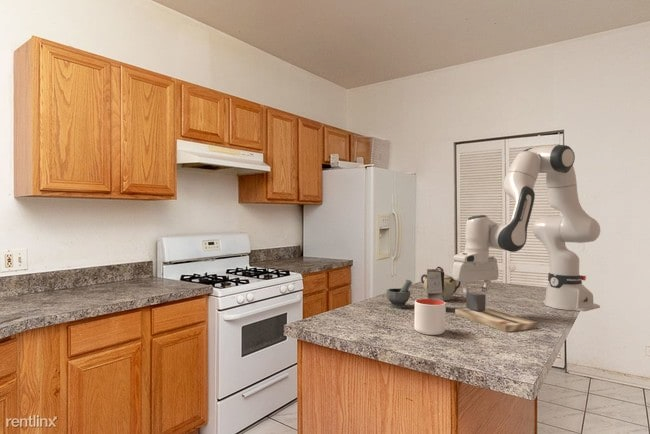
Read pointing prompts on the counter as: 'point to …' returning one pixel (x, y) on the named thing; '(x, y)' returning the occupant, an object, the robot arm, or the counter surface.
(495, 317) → the fader panel
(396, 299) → the mortar and pestle
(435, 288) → the coffee box
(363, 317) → the counter surface
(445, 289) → the sugar bowl
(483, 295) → the fader
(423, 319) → the cup
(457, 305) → the counter surface
